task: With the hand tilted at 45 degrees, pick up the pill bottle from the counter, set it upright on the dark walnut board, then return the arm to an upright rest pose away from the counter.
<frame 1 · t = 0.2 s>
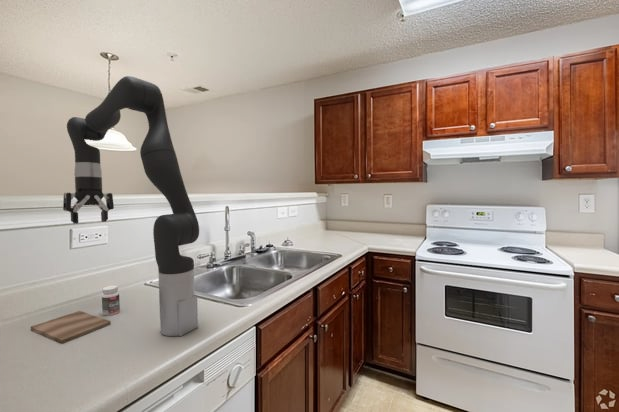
hand: (90, 222, 101), 29 cm above the worktop, tool pointing down, fingers open, 8 cm apart
walnut board: (71, 327, 84), on the worktop
pill bottle: (111, 313, 94), on the worktop
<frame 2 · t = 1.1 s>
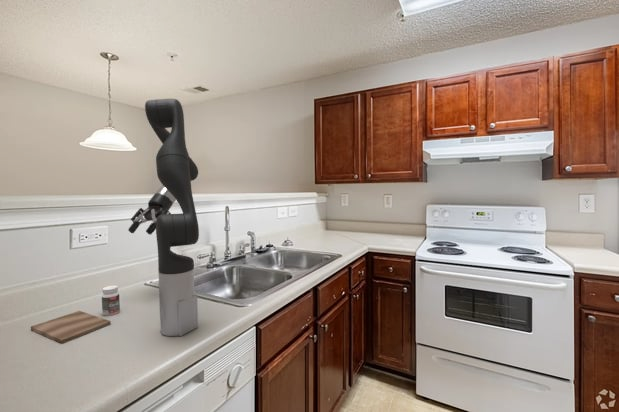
hand: (139, 232, 103), 25 cm above the worktop, tool tilted 45°, fingers open, 8 cm apart
nothing on the worktop moved.
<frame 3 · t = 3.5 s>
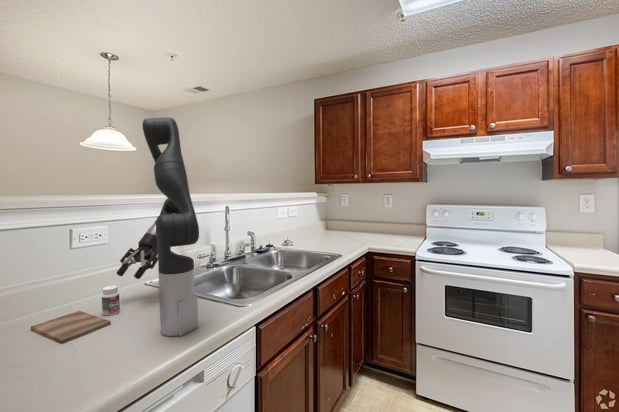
hand: (127, 276, 99), 10 cm above the worktop, tool tilted 45°, fingers open, 8 cm apart
nothing on the worktop moved.
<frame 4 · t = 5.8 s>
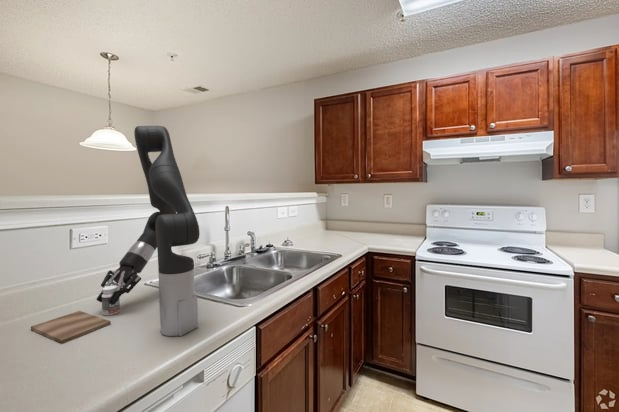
hand: (104, 302, 92), 4 cm above the worktop, tool tilted 45°, fingers closed on pill bottle, 4 cm apart
pill bottle: (111, 313, 94), on the worktop, touching gripper
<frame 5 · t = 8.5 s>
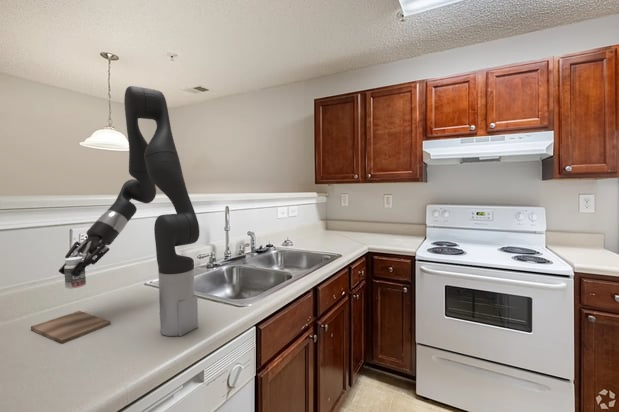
hand: (67, 274, 83), 16 cm above the worktop, tool tilted 45°, fingers closed on pill bottle, 4 cm apart
pill bottle: (76, 286, 85), point 12 cm above the worktop, touching gripper
when the fingers open (6 cm above the worktop, at t = 11.4 s): pill bottle drops 1 cm, resting on walnut board.
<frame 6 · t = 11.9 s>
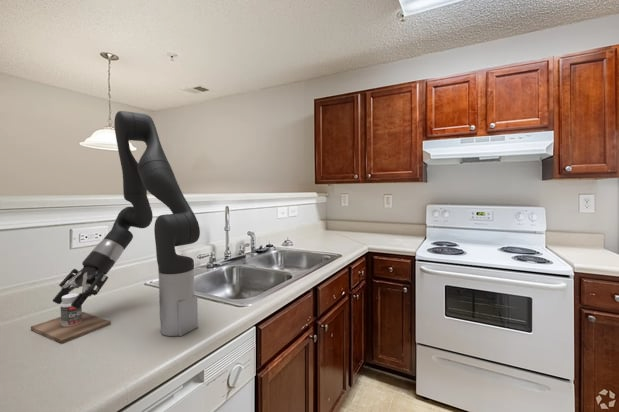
hand: (64, 304, 82), 7 cm above the worktop, tool tilted 45°, fingers open, 8 cm apart
pill bottle: (72, 324, 84), point 1 cm above the worktop, touching walnut board
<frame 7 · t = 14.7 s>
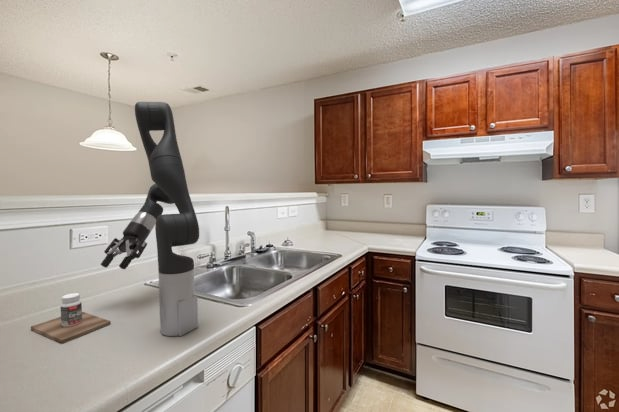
hand: (112, 267, 94), 15 cm above the worktop, tool tilted 45°, fingers open, 8 cm apart
nothing on the worktop moved.
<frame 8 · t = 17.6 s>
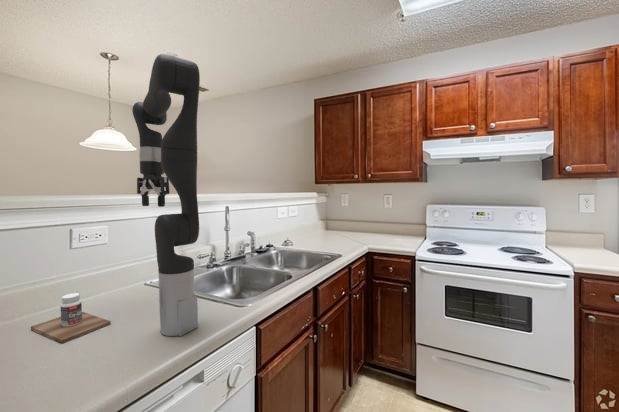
hand: (153, 206, 103), 34 cm above the worktop, tool pointing down, fingers open, 8 cm apart
nothing on the worktop moved.
at the end: pill bottle inside the target area on the walnut board (0.2 cm from its centre), point 0.8 cm above the walnut board's base; pill bottle tilted 0°; the gripper is holding nothing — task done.
